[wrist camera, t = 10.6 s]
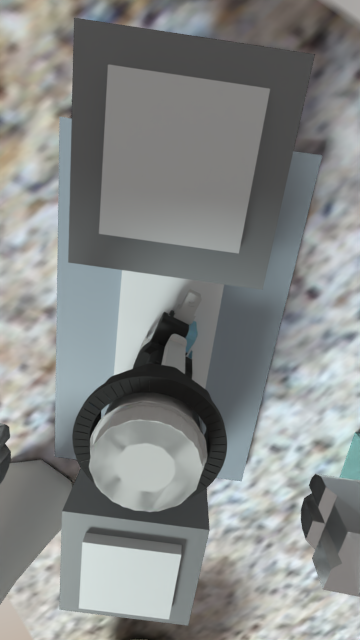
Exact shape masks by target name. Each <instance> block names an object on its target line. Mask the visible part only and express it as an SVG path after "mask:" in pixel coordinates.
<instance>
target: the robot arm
mask: <svg viewBox="0 0 360 640" xmlns="http://www.w3.org/2000/svg"><path fill="white" fill-rule="evenodd" d="M9 438H10V432H9V427H8V426H7V425H5V424H1V423H0V484H1V483H2V481H3V480H4V478H5V475H6V473H7V471H8V469H9V465H10V460H11V451H10V450H9V448H8V447H7V446H6V444H5V443H6V441H7V440H8V439H9ZM309 486H310V489H311V491H312V493H311V494H310V495H308V496H307V497H306V498H304V501H303V505H302V508H301V523H302V529H303V532H304V535H305V538H306V540H307V541H308V543H309V544H310V545H311V546H312V547H313V548H314V549H315V552H314V555H313V558H312V559H313V562H314V565H315V568H316V571H317V574H318V577H319V580H320V583H321V585H322V588H323V590H328V591H333V592H338V593H344V594H349V595H354V596H359V597H360V480H352V479H346V478H339V477H333V476H326V475H320V474H315V475H314V476H313V477H312V479H311V481H310V484H309Z"/></svg>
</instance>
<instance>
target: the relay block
mask: <svg viewBox="0 0 360 640" xmlns="http://www.w3.org/2000/svg"><path fill="white" fill-rule="evenodd" d="M340 478H346V479H352V480H360V433H355V434H354V437H353V440H352V443H351V446H350V449H349V452H348V455H347V457H346V460H345V463H344V466H343V469H342V472H341V475H340Z"/></svg>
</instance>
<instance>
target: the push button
mask: <svg viewBox="0 0 360 640" xmlns="http://www.w3.org/2000/svg"><path fill="white" fill-rule="evenodd" d="M189 300H194V302H189ZM201 300H202V299H201V294H200V293H198V292H196V291H194V290H192V289H189V290H188V292H187V294H186V296H185V298H184V300H183V302H182V304H181V305H180V304H178V306H177V308H176V310H175V311H173V310H171V311H170V313H169V314H168V313H166V312H164V313H163V314H162V316H161V318H160V320H159V323H158V325H157V327H156V330H155V332H154V334H153V336H152V338H151V339H148V338H147V337H148V335H149V332H150V330H149V331H148V333H147V335H146V337H145V339H144V341H143V343H142V345H141V347H140V350H139V353H138V355H137V358H136V360H135V363H134V366H133V369H131V370H128V371H125V372H122V373H120V374H117V375H114V376H111V377H110V378H109V379H108V380H107V381H106V382H105V383H104V384H102V385H101V386H100V387H98V388H97V389H96V390H95V391H94V392H93V393H92V394H91V395H90V396H89V397H88V398H87V400H86V401H85V403H84V404H83V406H82V407H81V409H80V411H79V413H78V415H77V417H76V420H75V423H74V427H73V434H72V441H73V449H74V453H75V456H76V459H77V461H78V463H79V465H80V467H81V469H82V470H83V472H84V473H85V474H86V476H87V477H88V478H89V479H90V480H91V481H92V482H93V483H94V484H95V485H96V486H97V487H98V488H99V489H100V491H101V492H102V493H103V494H105V495H106V496H107V497H108V498H109V499H110V500H111V501H112V502H115V503H117V504H119V505H121V506H122V507H126V508H130V509H132V510H135V511H148V512H153V511H161V510H164V509H167V508H170V507H174V506H177V505H179V504H181V503H182V502H183V501H184V500H187V499H189V498H191V497H193V496H195V495H197V494H199V493H200V492H202V491H203V490H204V489H205V488H207V487H208V486H209V485H210V484H211V483H212V482H213V481H214V479H215V478H216V477H217V476H218V474H219V472H220V471H221V469H222V467H223V464H224V461H225V458H226V454H227V435H226V430H225V425H224V422H223V418H222V416H221V414H220V412H219V410H218V408H217V407H216V405H215V404H214V403H213V401H212V399H211V397H210V394H209V392H208V391H207V390H206V389H204V388H203V387H202V386H200V385H199V384H198V383H196V382H195V381H194V380H192V374H193V371H192V360H193V351H190V353H189V355H188V357H187V356H186V355H187V354H188V352H189V350H190V348H191V346H193V344H194V342H195V340H196V338H197V336H198V332H197V323H196V322H195V321H194V319H195V317H196V316H194V314H195V311H196V309H197V308H198V306H199V304H200V302H201ZM111 402H112V403H111ZM110 403H111V405H110V407H109V410H108V412H107V414H106V415H105V416H103V417H102V418H101V410H102V409H103V408H105V407H106V406H107V405H108V404H110ZM200 418H201V419H202V421H203V423H204V424H205V426H206V432H205V434H204V435H203V434H202V432H201V430H200Z"/></svg>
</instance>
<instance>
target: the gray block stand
mask: <svg viewBox="0 0 360 640" xmlns="http://www.w3.org/2000/svg"><path fill="white" fill-rule="evenodd" d="M314 56H315V54H310V53H303V52H297V51H290V50H283V49H277V48H270V47H264V46H257V45H250V44H244V43H237V42H231V41H224V40H217V39H211V38H204V37H198V36H191V35H184V34H178V33H171V32H165V31H158V30H151V29H145V28H138V27H132V26H125V25H118V24H112V23H105V22H99V21H92V20H85V19H79V18H74V46H73V86H72V119H71V118H64V117H60V132H59V201H58V269H57V338H56V406H55V457H61V458H69V459H76V456H75V453H74V449H73V441H72V434H73V427H74V423H75V420H76V417H77V415H78V413H79V411H80V409H81V407H82V406H83V404H84V403H85V401H86V400H87V398H88V397H89V396H90V395H91V394H92V393H93V392H94V391H95V390H96V389H97V388H98V387H100V386H101V385H102V384H104V383H105V382H106V381H107V380H108V379H109V378H110V377H111V376H114V375H117V374H120V373H122V372H125V371H128V370H131V369H133V366H134V363H135V360H136V358H137V355H138V353H139V350H140V347H141V345H142V343H143V341H144V339H145V337H146V335H147V333H148V331H149V330H150V332H149V335H148V337H147V338H148V339H151V338H152V336H153V334H154V332H155V330H156V327H157V325H158V323H159V320H160V318H161V316H162V314H163V313H164V312H166V313H168V314H169V313H170V311H171V310H173V311H175V310H176V308H177V306H178V304H180V305H181V304H182V302H183V300H184V298H185V296H186V294H187V292H188V290H189V289H192V290H194V291H196V292H198V293H200V294H201V299H202V300H201V302H200V304H199V306H198V308H197V309H196V311H195V314H194V316H196V317H195V319H194V321H195V322H196V323H197V332H198V336H197V338H196V340H195V342H194V344H193V346H191V348H190V350H189V352H188V354H187V355H186V356H187V357H188V355H189V353H190V351H193V360H192V371H193V374H192V380H194V381H195V382H196V383H198V384H199V385H200V386H202V387H203V388H204V389H206V390H207V391H208V392H209V394H210V397H211V399H212V401H213V403H214V404H215V405H216V407H217V408H218V410H219V412H220V414H221V416H222V418H223V422H224V425H225V430H226V435H227V454H226V458H225V461H224V464H223V467H222V469H221V471H220V472H219V474H218V476H217V477H216V478H221V479H229V480H236V481H242V477H243V473H244V469H245V465H246V461H247V457H248V453H249V449H250V445H251V441H252V437H253V433H254V429H255V425H256V421H257V417H258V413H259V409H260V405H261V401H262V397H263V392H264V388H265V384H266V380H267V376H268V372H269V368H270V364H271V360H272V356H273V352H274V348H275V344H276V340H277V336H278V332H279V328H280V324H281V320H282V316H283V312H284V308H285V304H286V300H287V296H288V292H289V288H290V284H291V280H292V276H293V272H294V268H295V264H296V260H297V256H298V252H299V247H300V243H301V239H302V235H303V231H304V227H305V223H306V219H307V215H308V211H309V207H310V203H311V199H312V195H313V191H314V187H315V183H316V179H317V175H318V171H319V167H320V163H321V159H322V155H316V154H309V153H302V152H295V151H294V146H295V142H296V137H297V133H298V128H299V124H300V119H301V115H302V110H303V106H304V101H305V97H306V92H307V88H308V83H309V79H310V74H311V70H312V65H313V61H314ZM189 302H194V300H189ZM111 403H112V402H111ZM111 403H110V404H108V405H107V406H106V407H105V408H103V409H102V410H101V418H102V417H103V416H105V415H106V414H107V412H108V410H109V407H110V405H111ZM200 430H201V432H202V434H203V435H204V434H205V432H206V426H205V424H204V423H203V421H202V419H201V418H200ZM76 460H77V459H76ZM208 534H209V517H208V502H207V488H205V489H204V490H203V491H202V492H200V493H199V494H197V495H195V496H193V497H191V498H189V499H187V500H184V501H183V502H182V503H181V504H179V505H177V506H174V507H170V508H167V509H164V510H161V511H153V512H148V511H135V510H132V509H130V508H126V507H122V506H121V505H119V504H117V503H115V502H112V501H111V500H110V499H109V498H108V497H107V496H106V495H105V494H103V493H102V492H101V491H100V489H99V488H98V487H97V486H96V485H95V484H94V483H93V482H92V481H91V480H90V479H89V478H88V477H87V476H86V474H85V473H84V472H83V470H82V469H80V471H79V474H78V476H77V478H76V480H75V483H74V485H73V487H72V490H71V492H70V494H69V496H68V499H67V501H66V503H65V505H64V508H63V510H62V528H61V568H60V608H59V610H67V611H75V612H83V613H91V614H99V615H107V616H115V617H123V618H131V619H139V620H147V621H155V622H163V623H172V624H180V625H188V624H189V620H190V615H191V611H192V606H193V602H194V597H195V593H196V588H197V584H198V579H199V575H200V570H201V566H202V561H203V557H204V552H205V548H206V543H207V539H208Z"/></svg>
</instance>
